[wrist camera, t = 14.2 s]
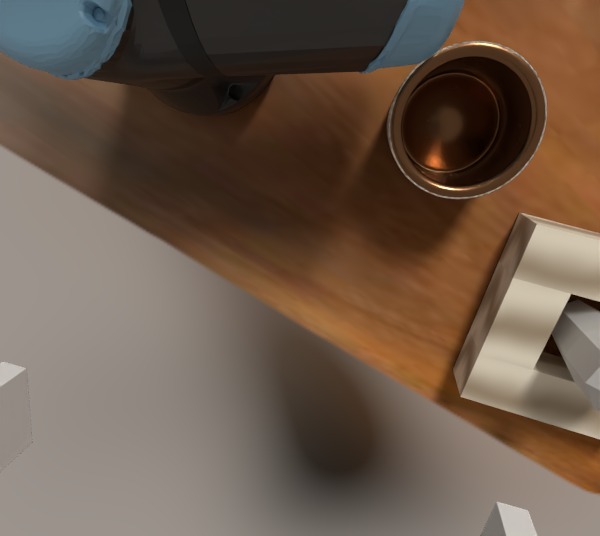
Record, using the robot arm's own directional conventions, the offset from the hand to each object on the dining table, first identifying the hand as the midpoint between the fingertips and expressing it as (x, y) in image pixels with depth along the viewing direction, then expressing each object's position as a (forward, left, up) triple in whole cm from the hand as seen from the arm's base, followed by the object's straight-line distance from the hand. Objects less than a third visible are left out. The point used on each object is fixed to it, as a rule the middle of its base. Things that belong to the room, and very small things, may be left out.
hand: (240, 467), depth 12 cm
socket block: (+4, +25, -34) cm, 42 cm away
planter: (-11, +7, -35) cm, 37 cm away
